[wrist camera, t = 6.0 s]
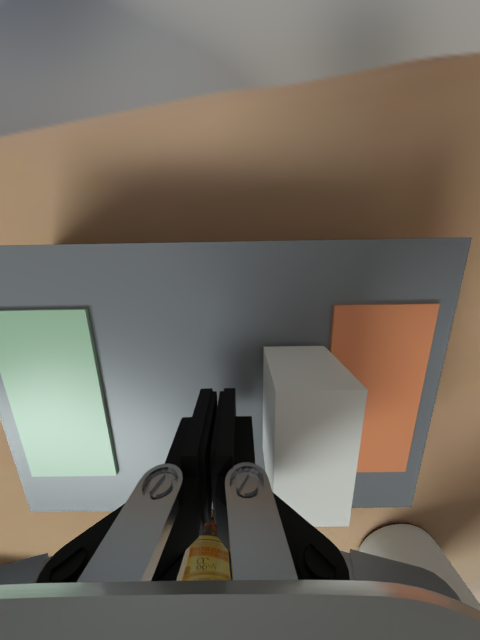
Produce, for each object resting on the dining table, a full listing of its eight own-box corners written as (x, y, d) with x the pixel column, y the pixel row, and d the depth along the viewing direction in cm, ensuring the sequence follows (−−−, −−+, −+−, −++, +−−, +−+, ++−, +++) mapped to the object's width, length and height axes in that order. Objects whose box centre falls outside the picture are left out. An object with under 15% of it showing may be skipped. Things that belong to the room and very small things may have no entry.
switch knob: (324, 345, 11) (367, 389, 7) (315, 446, 13) (348, 526, 9) (263, 346, 11) (275, 391, 7) (262, 447, 13) (272, 527, 9)
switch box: (388, 246, 16) (476, 237, 10) (361, 436, 20) (413, 510, 14) (50, 251, 16) (-61, 246, 10) (90, 439, 20) (27, 515, 14)
